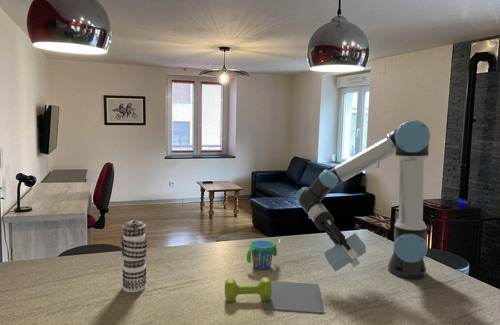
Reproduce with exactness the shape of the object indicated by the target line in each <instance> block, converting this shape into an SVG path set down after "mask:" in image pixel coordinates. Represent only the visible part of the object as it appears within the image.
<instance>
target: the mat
mask: <svg viewBox="0 0 500 325" xmlns="http://www.w3.org/2000/svg"><path fill="white" fill-rule="evenodd" d="M270 282H271V288H272V292H271V298H270V300H268V301H264V306H263V307H264V308H263V310H267V311H280V312H295V313H308V314H309V313H310V314H321V315H322V314H325V311H324V305H323V299H322V295H321V290H320V289H321V288H320V285H319V283H306V282H292V281H277V280H276V281H275V280H274V281H273V280H270Z"/></svg>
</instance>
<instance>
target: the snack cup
mask: <svg viewBox="0 0 500 325" xmlns="http://www.w3.org/2000/svg"><path fill="white" fill-rule="evenodd" d="M277 255H278V250H277V245H276V244H275V243H274V242H272V241H268V240H263V239H262V240H261V239H260V240H253V241H251V242H250V246H249V249H248V250H247V255H246V261H247V262H248V263H249V264H251V263H252V265H253V268H255V269H257V270H266V269H267V270H268V269H269V268H271V265H272V259H273V256H274V257H276V256H277Z"/></svg>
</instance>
